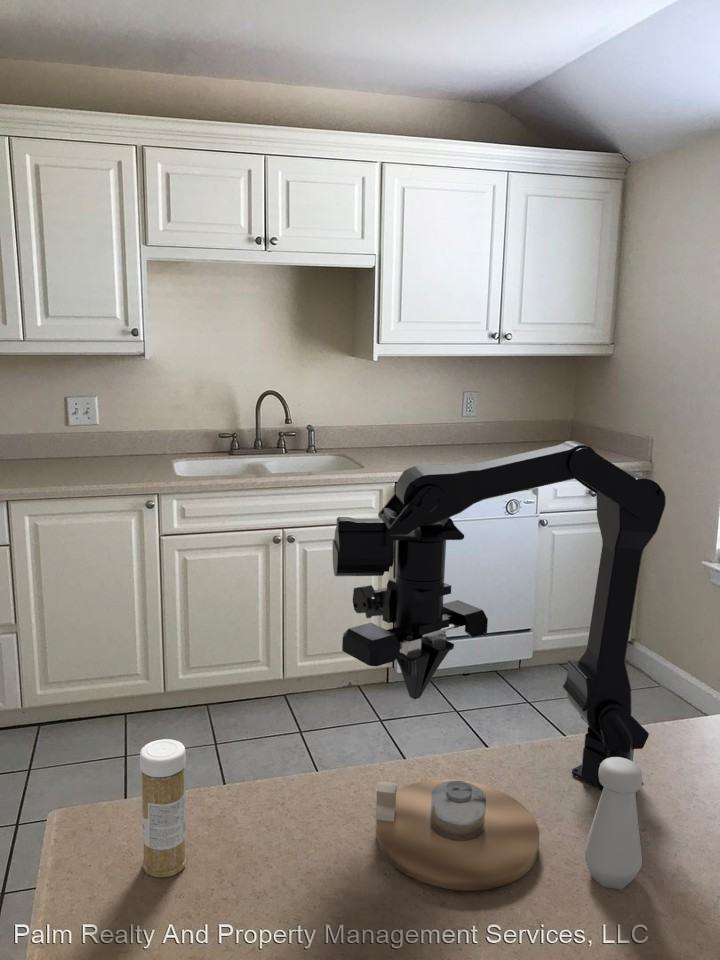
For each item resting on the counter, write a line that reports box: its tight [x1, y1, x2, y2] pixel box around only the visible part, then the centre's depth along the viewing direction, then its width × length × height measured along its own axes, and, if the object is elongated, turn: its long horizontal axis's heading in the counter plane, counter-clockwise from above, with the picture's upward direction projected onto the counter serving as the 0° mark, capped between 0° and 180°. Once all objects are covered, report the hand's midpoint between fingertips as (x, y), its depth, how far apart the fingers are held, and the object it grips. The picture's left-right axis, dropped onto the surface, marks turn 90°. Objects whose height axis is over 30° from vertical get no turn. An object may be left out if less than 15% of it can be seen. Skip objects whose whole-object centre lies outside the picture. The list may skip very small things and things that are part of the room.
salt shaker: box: [584, 757, 643, 891], centre depth 86 cm, size 6×6×13 cm
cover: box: [430, 780, 486, 841], centre depth 92 cm, size 6×6×4 cm
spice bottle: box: [139, 738, 187, 878], centre depth 86 cm, size 5×5×14 cm
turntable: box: [375, 778, 540, 891], centre depth 92 cm, size 18×18×5 cm
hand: (414, 697), depth 101 cm, fingers closed
